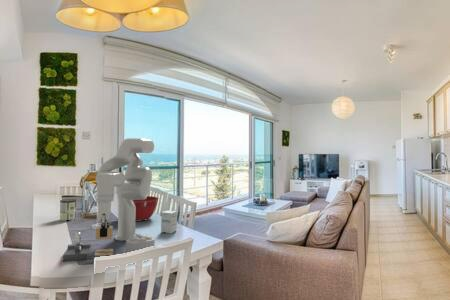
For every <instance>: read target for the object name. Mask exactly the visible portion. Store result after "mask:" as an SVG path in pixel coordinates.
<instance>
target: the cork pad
mask: <svg viewBox="0 0 450 300" xmlns="http://www.w3.org/2000/svg"><path fill="white" fill-rule="evenodd" d="M106 255H108V256H113V255H114V248H105V249H96V250H95V253H94V255H93V256H94V258H96V257H105V256H106Z"/></svg>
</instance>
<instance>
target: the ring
mask: <svg viewBox="0 0 450 300" xmlns="http://www.w3.org/2000/svg"><path fill="white" fill-rule="evenodd" d="M100 226H101V225H98V226H97V227H96V228H95V240H109V239H110V240H111V239H112V238H113V233H114V225H109V226H107V237H100Z"/></svg>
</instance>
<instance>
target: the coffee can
mask: <svg viewBox="0 0 450 300" xmlns="http://www.w3.org/2000/svg"><path fill="white" fill-rule="evenodd" d="M59 202H60V204H59V207H60V210H59V221H60V220H62V221H61V222H67V221H66V220H72V221H75V220H76V219H77V199H76V198H74V199H73V198H66V199H64V198H63V199H60V200H59ZM74 219H75V220H74Z"/></svg>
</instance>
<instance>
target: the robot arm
mask: <svg viewBox="0 0 450 300" xmlns="http://www.w3.org/2000/svg"><path fill="white" fill-rule="evenodd" d="M154 150H155V143H154V141H153V140H152V139H148V138H147V139H146V138H135V137H133V138H131V137H130V138H125V139H123V140H122V142H121V144H120V145H119V148H118V149H117V152H116V153H115V155H114V156H112V157H110V158H109V159H108V160H106V161H105V162H103V163H102V164H101V166H100V167H99V169H98V171H97V172H96V175H95V183H96V184H97V185H96V186H97V187H96V188H97V189H96V192H97V193H96V202H97V203H98V210H97V224H99V223H100V225H99V226H100V237H107V226H110V224H109V222H110V219H111V218H110V217H111V211H112V210H111V209H112V208H111V206H112V202H114V201H115V200H114V196H115V189H114V188H115V187H117V188H116V195H117V200H118V201H117V203H118V205H117V209H118V210H117V211H118V213H117V234H116V235H115V236H114V240H116V241H120V242H126V240H128V239H130V238H131V237H132V236H135V235H137V233H136V221H135V219H136V207H135V204H134V202H133V201H132V200H144V199H146V198H147V196H148V195H149V191H150V188H151V183H152V178H153V172H152V169H150V167H146V166H145V167H144V166H143V163H144V161H143V159H142V157H140V155H139V154H152V153H153V152H154ZM123 167H126V169H125V172H124V173H123V172H121V171H115V170H117V169H121V168H123Z"/></svg>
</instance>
